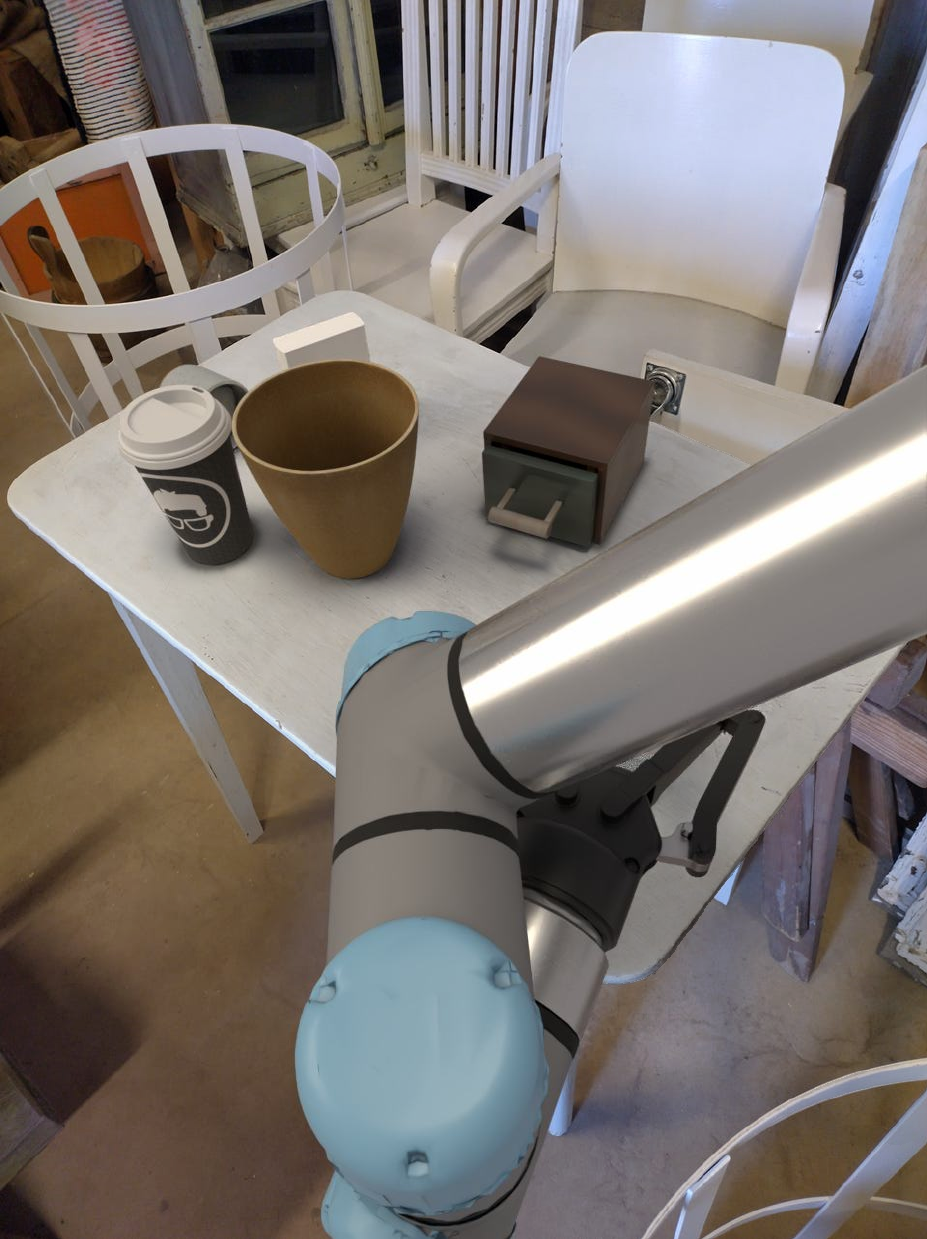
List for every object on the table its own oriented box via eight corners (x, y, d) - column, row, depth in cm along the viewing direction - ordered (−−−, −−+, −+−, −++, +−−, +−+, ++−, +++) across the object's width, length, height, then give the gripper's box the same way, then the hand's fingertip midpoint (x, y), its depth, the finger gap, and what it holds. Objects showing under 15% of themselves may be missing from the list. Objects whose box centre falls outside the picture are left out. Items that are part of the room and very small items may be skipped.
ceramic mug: (217, 403, 93) (195, 344, 87) (264, 429, 90) (244, 369, 84) (142, 453, 89) (113, 394, 83) (188, 482, 85) (161, 422, 79)
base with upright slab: (319, 469, 85) (293, 369, 76) (286, 425, 90) (259, 326, 81) (395, 438, 87) (380, 337, 78) (360, 397, 93) (341, 298, 83)
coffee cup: (286, 547, 78) (243, 417, 66) (193, 592, 75) (131, 465, 63) (244, 494, 83) (198, 365, 72) (156, 534, 80) (93, 407, 69)
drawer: (571, 579, 72) (575, 514, 66) (465, 546, 75) (460, 481, 69) (629, 470, 80) (638, 404, 74) (532, 445, 84) (533, 380, 78)
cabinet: (600, 544, 76) (607, 463, 68) (487, 511, 79) (482, 431, 72) (643, 462, 82) (655, 381, 75) (537, 435, 86) (538, 355, 79)
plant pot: (304, 633, 71) (257, 495, 59) (261, 527, 80) (213, 388, 68) (461, 576, 74) (447, 434, 62) (403, 480, 83) (381, 339, 71)
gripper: (380, 870, 47) (537, 593, 59) (727, 1033, 40) (821, 684, 53) (359, 811, 41) (537, 518, 54) (759, 990, 35) (856, 609, 47)
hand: (678, 601), depth 53 cm, fingers closed on can, 7 cm apart
